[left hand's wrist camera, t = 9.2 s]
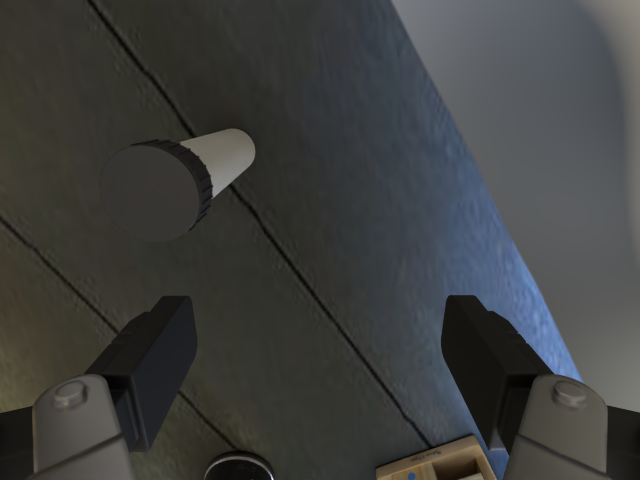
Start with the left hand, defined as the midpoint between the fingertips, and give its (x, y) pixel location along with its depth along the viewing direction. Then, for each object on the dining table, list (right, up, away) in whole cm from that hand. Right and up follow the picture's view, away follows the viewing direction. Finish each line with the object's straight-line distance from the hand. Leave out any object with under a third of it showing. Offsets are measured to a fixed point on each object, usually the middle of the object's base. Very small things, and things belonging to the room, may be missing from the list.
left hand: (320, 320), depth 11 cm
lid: (-8, +5, +6) cm, 11 cm away
